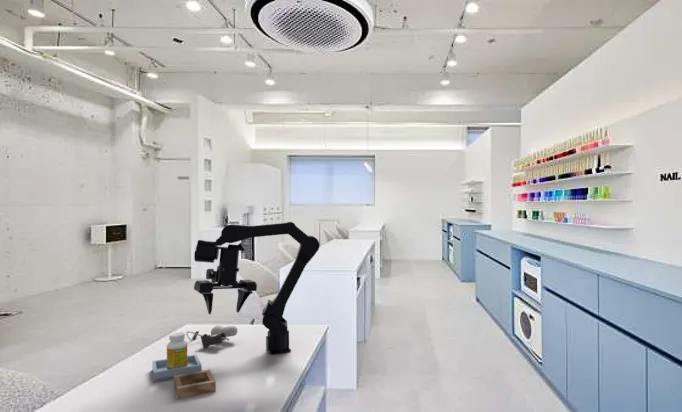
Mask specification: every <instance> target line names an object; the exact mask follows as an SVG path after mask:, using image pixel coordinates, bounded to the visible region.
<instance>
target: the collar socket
mask: <svg viewBox="0 0 682 412" xmlns="http://www.w3.org/2000/svg"><path fill="white" fill-rule="evenodd" d="M216 383H217V382H216V379H215V377H214V375H213V373H212V372H211V370H210V369H205V370H202V371H199V372H193V373H187V374H181V375H175V376H174V379H173V387H174V391H175V395H176V399H177V400H179V399H184V398H191V397H197V396H200V395H206V394H211V393H216V392H217V388H216V387H217V386H216Z"/></svg>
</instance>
